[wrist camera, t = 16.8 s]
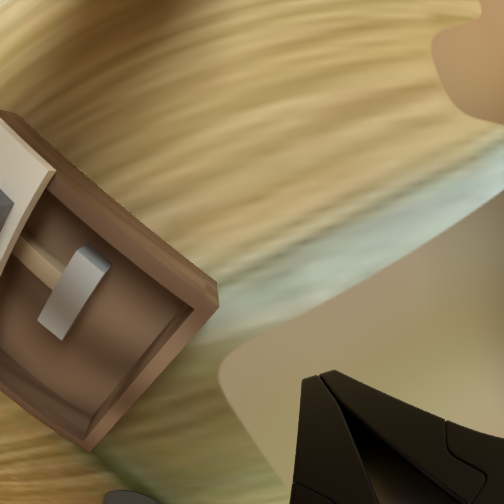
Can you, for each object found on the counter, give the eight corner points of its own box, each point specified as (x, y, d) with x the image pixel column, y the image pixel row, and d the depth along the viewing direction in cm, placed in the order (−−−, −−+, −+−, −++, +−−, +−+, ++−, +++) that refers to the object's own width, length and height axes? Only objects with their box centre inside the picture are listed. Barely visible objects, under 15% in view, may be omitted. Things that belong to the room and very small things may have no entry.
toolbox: (17, 114, 14) (-15, 105, 10) (216, 281, 18) (219, 306, 14) (-57, 284, 15) (-84, 300, 11) (99, 419, 19) (89, 452, 16)
